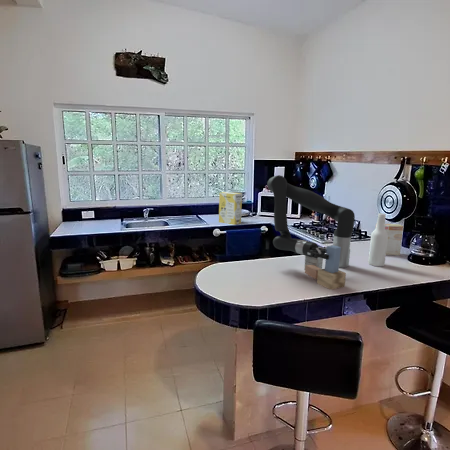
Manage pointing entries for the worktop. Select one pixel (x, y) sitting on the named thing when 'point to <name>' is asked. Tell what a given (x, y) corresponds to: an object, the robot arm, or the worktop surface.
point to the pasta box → (230, 207)
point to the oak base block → (331, 279)
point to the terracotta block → (312, 271)
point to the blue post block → (332, 259)
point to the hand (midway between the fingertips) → (334, 256)
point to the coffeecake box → (393, 238)
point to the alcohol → (378, 243)
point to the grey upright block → (313, 261)
